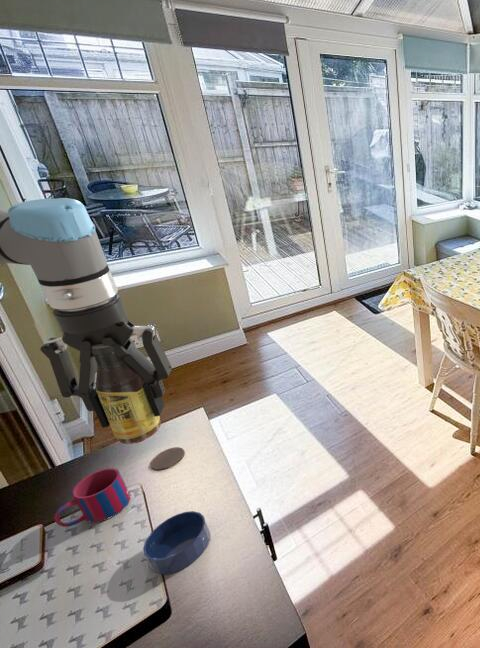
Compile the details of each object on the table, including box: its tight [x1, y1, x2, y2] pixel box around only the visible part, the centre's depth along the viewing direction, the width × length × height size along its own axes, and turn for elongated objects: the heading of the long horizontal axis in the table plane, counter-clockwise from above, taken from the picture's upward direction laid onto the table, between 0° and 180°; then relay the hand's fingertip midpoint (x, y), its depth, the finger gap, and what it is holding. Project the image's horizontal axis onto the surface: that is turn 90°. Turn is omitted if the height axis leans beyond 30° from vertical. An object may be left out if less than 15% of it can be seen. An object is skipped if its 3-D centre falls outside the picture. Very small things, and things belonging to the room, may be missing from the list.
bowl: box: [142, 510, 211, 575], centre depth 75 cm, size 9×9×4 cm
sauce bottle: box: [91, 344, 162, 445], centre depth 70 cm, size 7×6×20 cm
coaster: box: [150, 446, 186, 471], centre depth 93 cm, size 6×6×1 cm
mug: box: [53, 467, 131, 528], centre depth 79 cm, size 7×10×7 cm
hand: (134, 416), depth 72 cm, fingers closed on sauce bottle, 6 cm apart
